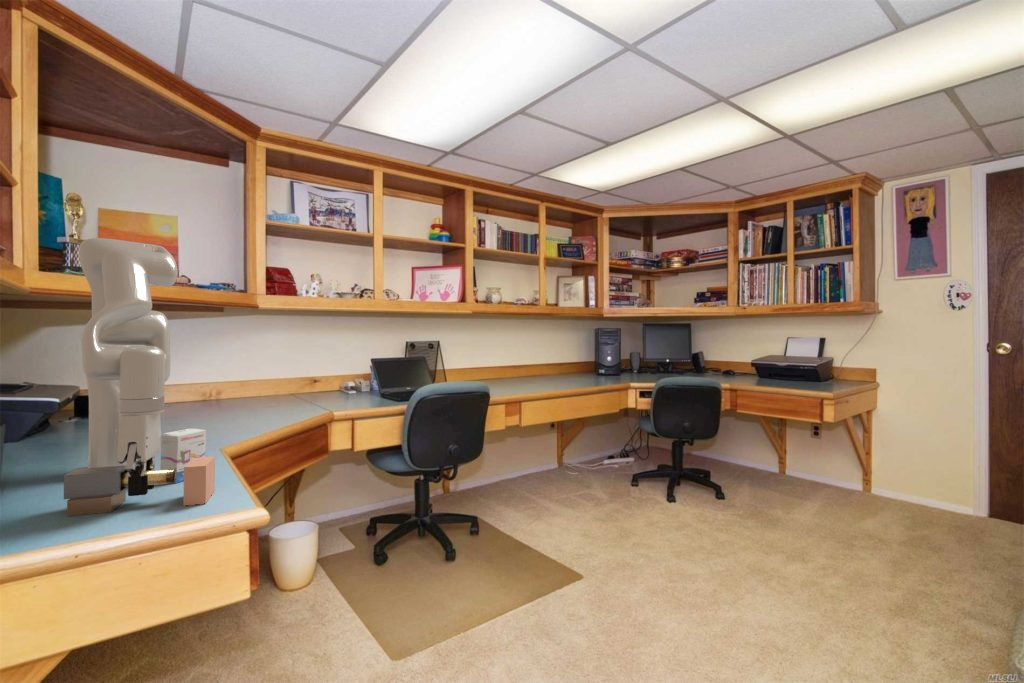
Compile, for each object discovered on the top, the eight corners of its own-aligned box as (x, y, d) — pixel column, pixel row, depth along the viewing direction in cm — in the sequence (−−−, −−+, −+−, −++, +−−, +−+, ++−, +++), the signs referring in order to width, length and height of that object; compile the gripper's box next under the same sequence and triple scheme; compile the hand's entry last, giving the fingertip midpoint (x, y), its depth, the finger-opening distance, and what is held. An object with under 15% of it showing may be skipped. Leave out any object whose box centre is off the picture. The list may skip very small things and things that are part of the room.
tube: (77, 492, 94) (78, 477, 94) (85, 487, 97) (85, 473, 97) (172, 484, 100) (172, 470, 100) (177, 480, 102) (177, 467, 102)
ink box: (176, 484, 112) (176, 435, 112) (159, 482, 113) (159, 433, 113) (206, 474, 121) (206, 428, 121) (190, 472, 122) (190, 427, 122)
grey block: (60, 516, 91) (60, 476, 91) (78, 504, 98) (79, 467, 98) (117, 511, 95) (117, 472, 95) (131, 500, 101) (131, 463, 101)
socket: (183, 506, 98) (183, 467, 98) (194, 493, 106) (194, 457, 106) (205, 503, 100) (206, 465, 100) (214, 492, 107) (215, 456, 107)
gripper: (136, 401, 105) (135, 482, 105) (102, 412, 90) (101, 507, 90) (175, 400, 108) (174, 479, 108) (149, 411, 92) (148, 503, 93)
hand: (141, 491), depth 99 cm, fingers closed on tube, 3 cm apart
